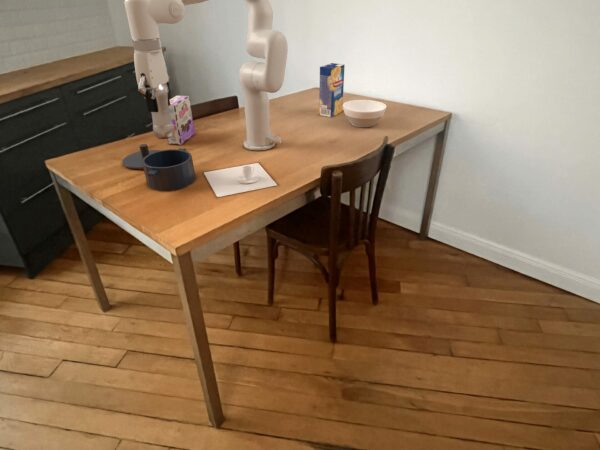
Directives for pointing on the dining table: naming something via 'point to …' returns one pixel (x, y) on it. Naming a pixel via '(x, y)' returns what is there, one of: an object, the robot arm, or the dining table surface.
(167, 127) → the metal water bottle
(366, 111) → the bowl
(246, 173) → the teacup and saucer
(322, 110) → the blue cardboard box
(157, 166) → the dark blue cooking pot
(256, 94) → the robot arm
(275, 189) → the dining table surface
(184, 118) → the candy box
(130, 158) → the lid
